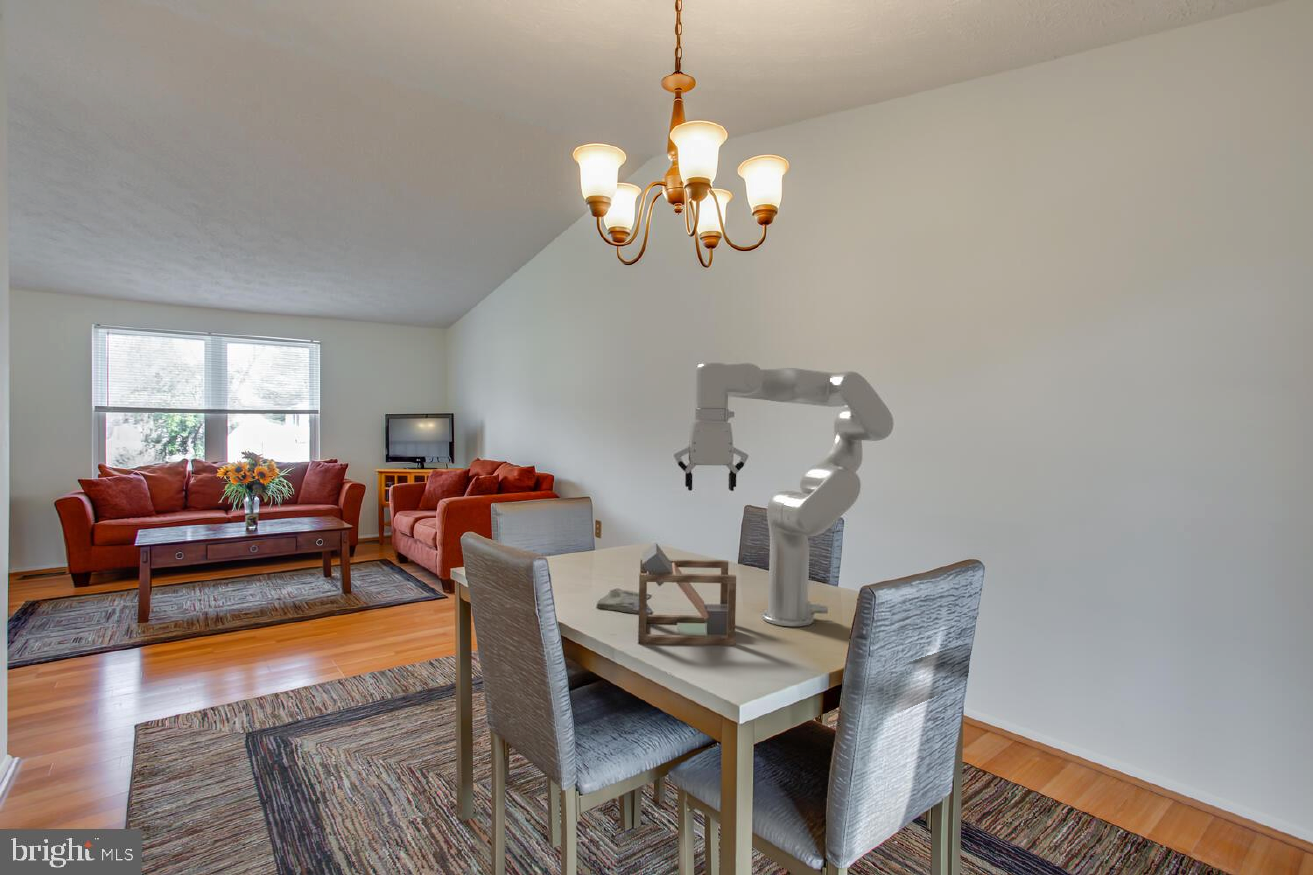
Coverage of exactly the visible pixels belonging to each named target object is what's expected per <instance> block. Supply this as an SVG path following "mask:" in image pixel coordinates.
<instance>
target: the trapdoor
mask: <svg viewBox="0 0 1313 875" xmlns="http://www.w3.org/2000/svg"><path fill="white" fill-rule="evenodd" d="M641 559H642V565H643V566H644V568H645V569H646V570H647V573H658V574H683V573H682V571H681V570H680V569H679V567H677V566H676V565H675V563H674V562H673V563H671V562H670V560H671V559H669V558H668V556H667V555H666V554H665V552H664V551H663V550H662V548H661V547H660V546H659V544H658V543H654V544H652V545H651V546H650V547H649V548H647V549H646V550H644V552H642V558H641ZM655 583H656V585H657V586H658V587H661V586H662V585H663V584H665V583H666V582H655ZM675 583H676V584H677V585H678V587H679V589H680V590H682V592H683V593H684V595H685V596H686V598H688V600H689V601H690V602H691V604H692V605H693V607H694V608H695V609H696V610H697V611H698V613H699V615H700V616H702V617H703V618H704V619H705V620H706V619H707V618H708V613H707V610H706V606H705V604H706V603H705V600H704V599H703V598H702V597H701V595H700V594H699V593H698V592H697V590H696V589H695V588H694V587H693V585H692V583H681V582H675Z"/></svg>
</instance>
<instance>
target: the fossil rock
mask: <svg viewBox="0 0 1313 875" xmlns="http://www.w3.org/2000/svg"><path fill="white" fill-rule="evenodd" d="M652 597H653V595H652V594H649V593H647V600H649V599H650V598H652ZM648 598H649V599H648ZM595 608H596V609H601V608H602V609H601V610H608V611H618V612H623V613H630V614H638V615H639V591H631V590H626V589H621V588H619V587H617V588H614V589H610V590H609V592H608V593H607V594H606V595H604V596H603V597H602V598H599V600H597V602H596V607H595ZM652 612H653V610H652V608H651V607H650V606H649V605H648V603H647V602H646V615H652V614H651V613H652Z"/></svg>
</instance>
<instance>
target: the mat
mask: <svg viewBox="0 0 1313 875" xmlns="http://www.w3.org/2000/svg"><path fill="white" fill-rule="evenodd" d="M676 625H677V626H676V627H677V635H707V633H706V629H705V623H676ZM714 636H727V635H714Z"/></svg>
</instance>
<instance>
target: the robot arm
mask: <svg viewBox="0 0 1313 875" xmlns="http://www.w3.org/2000/svg"><path fill="white" fill-rule="evenodd" d="M729 397H731V398H739V399H740V398H741V399H750V400H762V401H763V400H764V401H771V402H776V403H777V402H778V403H790V404H798V405H799V404H800V405H811V406H817V407H818V406H820V407H830V408H831V407H832V408H833V407H834V408H835V407H836V408H837V407H846V408H843V409H841V410H840V411H839V412H838V413H837V414H836V416H835V418H834V422H833V430H834V432H833V433H834V434H833V435H834V437H833V439H834V440H833V444H832V446H831V447H830V449H829V450H828V451H827V452H826V453H825V454H824V455H823V456H822V457H821V458H820V459H818V461H816V462H815V463H814V464H813V465H812V466H811V467H809V469H808V470H806V471H805V473H804V474H803V475H802V477H801V479H800V482H799V488H800V490H801V492H798V491H794V490H782V491H778V492H777V493H775V494H773V496H772V497H771V498H770V499H769V501H768V503H767V507H766V520H767V526H768V530H769V562H768V563H769V567H768V569H769V570H768V571H769V573H768V605H767V606H768V607H767V608H766V609H764V610H763V611H762V612H761V618H762V619H763V620H764V621H765V622H767V623H770V624H773V625H777V626H783V627H805V626H809V625H811V624H813V623H814V621H815V616H814V615H815V614H821V615H823V614H824V615H825V614H828V610H829V608H828V606H827V605H820V603H811V602H810V601H809V578H810V577H809V576H810V575H809V571H810V569H809V566H810V543H809V539H808V536H809V537H814V536H819V535H822V534H823V533H824V532H825V531H827V530H828V529H830V528H831V527H832V526H833V525H834V524H835V523H836V522H838V520H839V519H840V518H841V517H842V516H843V515H844V514H846V512H847V511H849V509H850V508H852V506H854V504H855V503H856V501H857V499H858V498H859V495H860V493H861V486H862V485H861V480H860V476H859V475H858V473H857V471H858V470H859V468H860V467H861V465H862V462H863V441H866V442H867V441H868V442H869V441H871V442H879V441H882V440H885V439H887V438H888V437H889V436H890V435H891V434H892V431H893V430H894V418H893V415H892V413H891V411H890V409H889V408H888V407H887V405H886V404H885V402H884V401H883V399H882V398H881V397H880V395H879V394H878V393H877V392H876V390H875V389H874V387H873V386H872V385H871V383H869V382H868V380H866V379H865V378H864V376H862V375H861V374H860V373H858V372H856V371H852V370H851V371H849V370H848V371H839V372H828V371H820V370H812V369H805V368H804V369H803V368H797V367H783V368H782V367H781V368H774V369H773V368H772V369H771V368H770V369H769V368H768V369H766V368H765V369H761V367H759V366H758V365H756V364H754V363H749V362H742V363H730V364H726V363H722V362H703V363H699V364H698V365H697V366H696V368H695V417H694V419H695V420H694V421H693V422H691V425H690V430H689V441H688V446H687V447H685V448H682V449H681V450H679V451H677V452H675V453H673V457H674V459H675V461H676V463H677V465H678V467H679V468H681V469H682V471H684V473H685V478H684V479H685V481H684V483H685V484H684V485H685V488H687V490H688V491H692V490H693V473H692V470H693V469H695V467H696V466H726V467H727V468H728V469H729V473H728V490H729V491H731V492H734V490H735V488H737V474H738V473H739V472H740V471H741V469H743V467H744V466H745V465H746V462H747V460H748V459H749V454H748V453H745V452H743V451H742V450H740V449H738V448H737V447H734V440H733V438H734V436H733V429H732V423H731V422H729V420H730V419H731V418H735V411H731V410H729ZM687 454H688V461H689V463H688V464H687V465H686V464H685V462H684V461H683V459H682V457H683V456H686V455H687ZM734 454H735V455H737V456H738V457H740V459H739V461H738V462H737V463H736V464H735V465H734Z"/></svg>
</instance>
